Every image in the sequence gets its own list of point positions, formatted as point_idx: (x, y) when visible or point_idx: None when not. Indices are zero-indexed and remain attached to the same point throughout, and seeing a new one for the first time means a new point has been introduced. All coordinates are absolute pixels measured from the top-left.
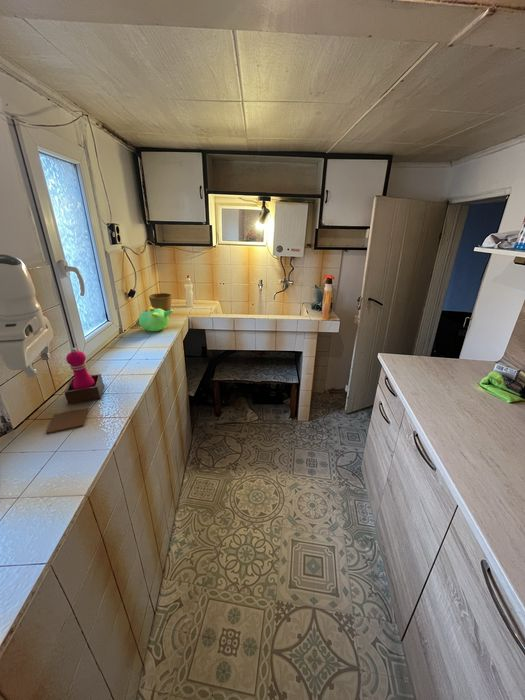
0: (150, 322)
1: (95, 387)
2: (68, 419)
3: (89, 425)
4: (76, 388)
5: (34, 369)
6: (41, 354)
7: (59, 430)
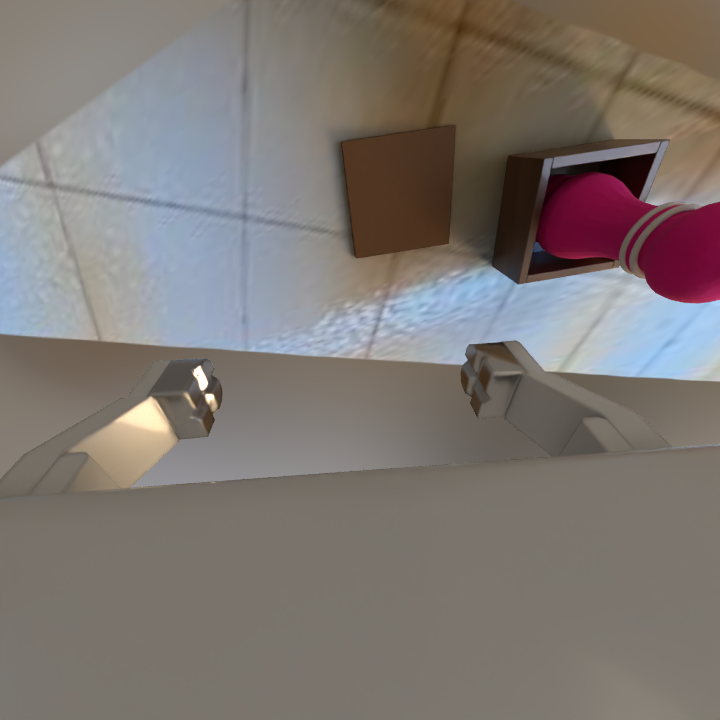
0: None
1: (518, 278)
2: (400, 198)
3: (354, 275)
4: (557, 200)
5: (187, 436)
6: (503, 378)
7: (347, 186)
